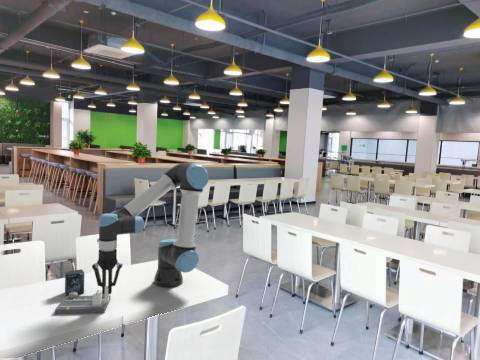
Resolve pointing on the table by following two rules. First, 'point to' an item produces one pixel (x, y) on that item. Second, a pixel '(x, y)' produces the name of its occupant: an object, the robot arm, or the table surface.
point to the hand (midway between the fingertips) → (106, 300)
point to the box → (74, 282)
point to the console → (80, 305)
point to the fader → (97, 297)
